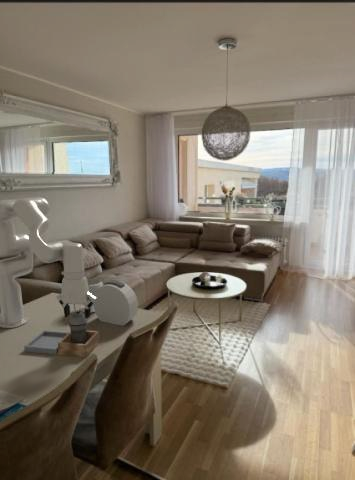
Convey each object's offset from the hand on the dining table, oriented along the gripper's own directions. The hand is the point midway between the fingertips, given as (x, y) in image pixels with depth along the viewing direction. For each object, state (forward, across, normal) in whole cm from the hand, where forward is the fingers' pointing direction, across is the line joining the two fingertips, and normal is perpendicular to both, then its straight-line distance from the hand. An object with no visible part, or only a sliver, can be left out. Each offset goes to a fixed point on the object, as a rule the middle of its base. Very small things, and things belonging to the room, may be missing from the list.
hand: (77, 316), depth 134 cm
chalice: (+14, -13, +39) cm, 44 cm away
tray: (+14, -14, +1) cm, 20 cm away
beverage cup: (+14, 0, 0) cm, 14 cm away
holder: (+14, 0, 0) cm, 14 cm away
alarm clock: (+14, +5, +28) cm, 32 cm away
